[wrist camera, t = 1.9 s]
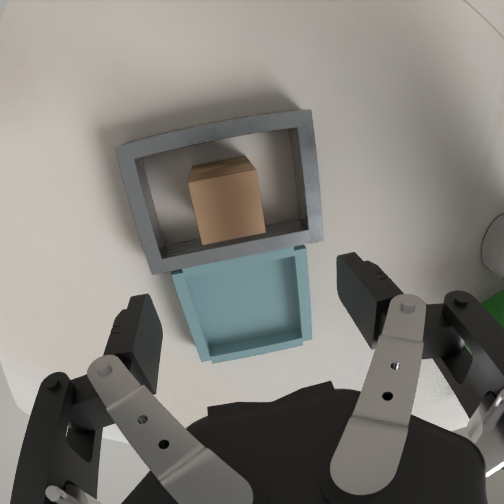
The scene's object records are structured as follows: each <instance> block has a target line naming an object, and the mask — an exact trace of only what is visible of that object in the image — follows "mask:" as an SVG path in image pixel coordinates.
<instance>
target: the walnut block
mask: <svg viewBox="0 0 504 504" xmlns="http://www.w3.org/2000/svg"><path fill="white" fill-rule="evenodd" d="M188 185H189V190H190V194H191V199H192V203H193V207H194V212H195V216H196V220H197V224H198V229H199V233H200V237H201V241H202V245H206V244H211V243H216V242H220V241H225V240H230V239H235V238H241V237H246V236H251V235H256V234H261V233H266V230H265V223H264V216H263V210H262V203H261V197H260V190H259V184H258V178H257V171H256V169H255V168H254V166H253V165H252V164H251V162H250V161H249V160H248V159H247V157H246V156H242V157H237V158H232V159H226V160H221V161H216V162H211V163H206V164H201V165H196V166H193V167H192V171H191V174H190V178H189V182H188Z"/></svg>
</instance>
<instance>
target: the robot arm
mask: <svg viewBox="0 0 504 504" xmlns="http://www.w3.org/2000/svg"><path fill="white" fill-rule="evenodd" d="M481 257H482V262H483V264H484V265H485V266H486V267H487V268H489V269H490V270H491V271H493V272H494V273H495V274H496V275H498V276H499V277H500V278H501V279H502V280H504V214H503V215H501V216H499V217H498V218H497V219H496V220H495V221H494V222H493V223H492V224H491V226H490V227H489V229H488V231H487V233H486V235H485V238H484V241H483V245H482V251H481ZM337 291H338V295H339V298H340V300H341V302H342V303H343V305H344V306H345V308H346V310H347V311H348V313H349V314H350V316H351V318H352V319H353V321H354V322H355V324H356V326H357V327H358V329H359V330H360V332H361V334H362V335H363V337H364V338H365V340H366V342H367V343H368V345H369V347H370V348H371V350H372V349H375V352H374V355H373V358H372V361H371V364H370V367H369V370H368V373H367V376H366V379H365V382H364V385H363V388H362V390H361V392H360V391H356V390H351V389H334V387H333V384H332V382H331V381H328V382H324V383H321V384H317V385H313V386H309V387H305V388H301V389H299V390H297V391H295V392H293V393H291V394H289V395H286V396H284V397H282V398H280V399H278V400H275V401H273V402H235V403H229V404H223V405H216V406H210V407H207V409H208V416H206V417H203V418H201V419H199V420H197V421H196V422H194V423H192V424H191V425H190V426H188V427H187V428H186V429H185V428H184V427H183V426H182V425H181V424H180V423H179V422H178V421H177V420H176V419H175V418H174V417H173V416H172V415H171V414H170V413H169V411H168V410H167V409H166V408H165V407H164V406H163V405H162V404H161V403H160V402H159V401H158V400H157V399H156V398H155V397H154V395H153V394H156V389H157V380H158V370H159V362H160V353H161V345H162V338H163V331H162V326H161V322H160V320H159V317H158V315H157V312H156V310H155V307H154V305H153V302H152V299H151V297H150V295H149V294H143V295H137V296H132V297H131V298H130V301H129V304H128V307H127V309H124V310H122V311H121V312H120V313H119V314H118V316H117V317H116V318H115V321H114V324H113V328H112V330H111V335H110V336H109V339H108V342H107V345H106V348H105V351H104V355H103V356H102V357H99V358H97V359H96V360H95V361H93V362H92V363H91V365H90V366H89V368H88V371H87V374H86V375H84V376H81V377H78V378H75V379H73V380H70V379H69V377H68V376H67V375H66V374H65V373H63V372H55V373H53V374H51V375H49V376H47V377H46V378H45V379H44V380H43V382H42V383H41V385H40V388H39V391H38V394H37V397H36V400H35V403H34V406H33V409H32V412H31V416H30V419H29V422H28V426H27V430H26V433H25V437H24V441H23V444H22V448H21V452H20V456H19V461H18V465H17V470H16V474H15V480H14V485H13V490H12V497H11V502H10V504H101V503H100V502H99V501H98V500H97V484H98V469H99V458H100V449H101V439H102V431H103V427H105V426H108V425H111V424H114V423H116V425H117V426H118V428H119V429H120V430H121V432H122V433H123V435H124V436H125V438H126V439H127V440H128V442H129V443H130V444H131V446H132V447H133V448H134V450H135V451H136V452H137V454H138V455H139V456H140V458H141V459H142V460H143V461H144V463H145V464H146V465H147V466H148V468H149V469H150V471H149V472H148V473H147V475H146V476H145V477H144V478H143V480H142V481H141V482H140V483H139V484H138V485H137V486H136V487H135V489H134V490H133V491H132V492H131V493H130V494H129V496H128V497H127V498H126V499H125V500H124V501H123V502H122V503H121V504H488V501H487V495H486V477H488V476H489V475H491V474H492V473H494V472H496V471H497V470H499V469H504V329H503V327H502V326H501V325H500V324H499V323H498V322H497V321H496V320H495V319H494V318H493V316H492V315H491V314H490V313H489V312H488V311H487V310H486V309H485V308H484V307H483V306H482V305H481V304H480V303H479V302H478V301H477V300H476V299H475V298H474V297H473V296H472V295H471V294H469V293H467V292H464V291H452V292H449V293H448V294H447V295H446V296H445V299H444V303H443V304H428V305H426V304H425V302H424V301H423V300H422V299H421V298H420V297H418V296H415V295H411V294H404V293H403V292H402V291H401V290H400V289H399V288H398V287H397V286H396V285H395V283H394V282H393V281H392V280H391V279H390V278H388V276H387V275H386V274H385V273H384V272H383V271H382V270H381V269H380V267H379V266H378V265H376V264H374V263H372V262H370V261H363V260H362V259H361V258H360V257H359V256H358V255H357V254H356V253H355V252H352V253H347V254H343V255H338V256H337ZM465 343H466V345H467V346H468V347H469V348H470V350H471V352H472V354H471V353H470V352H469V350H468V349H467V348H466V347H465V345H464V344H465ZM430 358H433V360H434V361H435V363H436V365H437V366H438V368H439V369H440V371H441V372H442V374H443V376H444V377H445V379H446V380H447V382H448V384H449V385H450V387H451V388H452V390H453V392H454V393H455V395H456V397H457V398H458V400H459V402H460V403H461V405H462V407H463V408H464V410H465V412H466V413H467V415H468V417H469V419H470V420H469V422H468V425H467V431H468V435H469V439H467V438H465V437H463V436H461V435H458V434H456V433H453V432H451V431H448V430H446V429H444V428H441V427H439V426H437V425H434V424H432V423H430V422H427V421H425V420H423V419H420V418H418V417H416V416H414V415H411V412H412V407H413V403H414V398H415V393H416V388H417V383H418V377H419V371H420V365H421V359H430ZM68 426H69V427H68ZM67 427H68V432H67ZM66 432H67V437H66Z"/></svg>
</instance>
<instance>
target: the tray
mask: <svg viewBox="0 0 504 504" xmlns="http://www.w3.org/2000/svg"><path fill="white" fill-rule="evenodd" d="M171 276H172V279H173V282H174V285H175V288H176V291H177V294H178V297H179V300H180V303H181V306H182V309H183V312H184V315H185V318H186V321H187V324H188V326H189V329H190V332H191V335H192V338H193V340H194V343H195V346H196V348H197V351H198V354H199V356H200V359H201V362H203V361H209V360H211V361H212V363H218V362H224V361H230V360H235V359H240V358H246V357H251V356H256V355H261V354H265V353H270V352H275V351H279V350H284V349H288V348H292V347H297V346H301V345H303V341H307V340H311V339H312V325H311V308H310V292H309V278H308V265H307V252H306V247H305V246H304V245H299V246H294V247H289V248H284V249H279V250H274V251H269V252H264V253H259V254H254V255H249V256H244V257H239V258H234V259H229V260H224V261H219V262H214V263H209V264H204V265H199V266H194V267H189V268H184V269H179V270H174V271H172V274H171Z"/></svg>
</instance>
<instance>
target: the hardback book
mask: <svg viewBox="0 0 504 504" xmlns="http://www.w3.org/2000/svg"><path fill="white" fill-rule="evenodd" d="M481 305H482V306H483V307H484V308H485V309H486V310H487V311H488V312H489V313H490V314H491V315H492V316H493V318H494V319H495V320H496V321H497V322H498V323H499V324H500V325H501V326H502V327H503V329H504V290H502V291H501V292H499V293H498V294H496V295H494V296H493V297H491V298H489V299H488V300H486V301H484V302H483V303H481ZM464 345H465V346H466V347H467V348H468V349H469V350H470V348H469V347H468V346H467V345H466V343H465V344H464ZM470 352H471V350H470ZM471 353H472V352H471Z"/></svg>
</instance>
